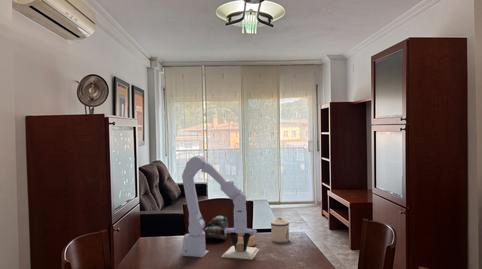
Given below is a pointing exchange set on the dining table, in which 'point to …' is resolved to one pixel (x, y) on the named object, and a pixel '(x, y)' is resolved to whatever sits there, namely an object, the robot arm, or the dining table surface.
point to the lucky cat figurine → (217, 228)
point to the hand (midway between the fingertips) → (240, 249)
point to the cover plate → (243, 255)
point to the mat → (240, 257)
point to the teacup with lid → (280, 230)
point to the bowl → (250, 242)
